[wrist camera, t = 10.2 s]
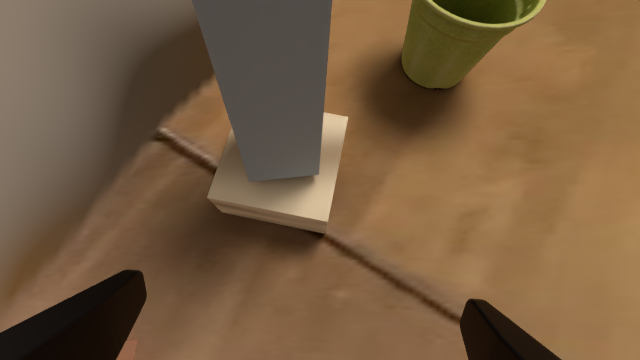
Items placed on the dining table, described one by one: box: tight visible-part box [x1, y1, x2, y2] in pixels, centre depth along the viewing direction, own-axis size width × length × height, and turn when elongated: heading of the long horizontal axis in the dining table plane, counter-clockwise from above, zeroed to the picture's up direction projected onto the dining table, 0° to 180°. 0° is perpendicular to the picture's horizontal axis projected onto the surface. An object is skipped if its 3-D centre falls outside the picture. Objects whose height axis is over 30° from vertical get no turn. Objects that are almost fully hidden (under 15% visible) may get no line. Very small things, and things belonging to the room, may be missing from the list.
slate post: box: [192, 0, 332, 182], centre depth 15 cm, size 4×4×13 cm
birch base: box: [207, 113, 348, 234], centre depth 23 cm, size 8×8×4 cm
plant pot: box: [401, 0, 546, 89], centre depth 25 cm, size 9×9×9 cm
